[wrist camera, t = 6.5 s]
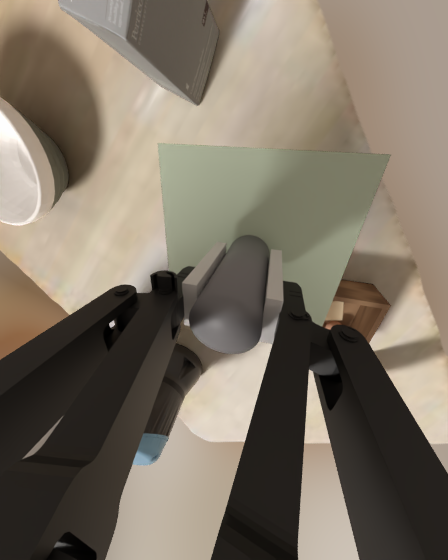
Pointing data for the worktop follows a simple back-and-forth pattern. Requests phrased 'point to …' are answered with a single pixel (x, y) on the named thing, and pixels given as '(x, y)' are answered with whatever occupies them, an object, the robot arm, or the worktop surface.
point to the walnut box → (361, 307)
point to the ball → (332, 324)
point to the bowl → (27, 169)
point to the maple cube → (335, 311)
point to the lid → (262, 227)
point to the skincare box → (156, 38)
